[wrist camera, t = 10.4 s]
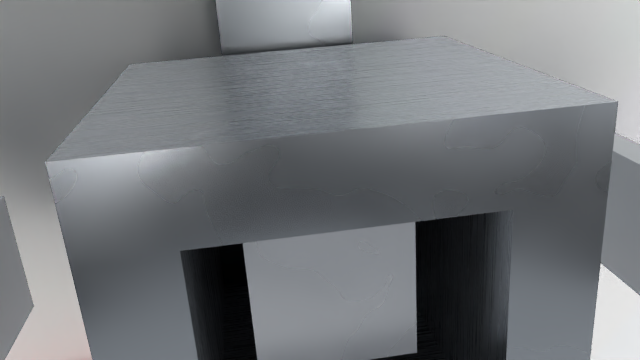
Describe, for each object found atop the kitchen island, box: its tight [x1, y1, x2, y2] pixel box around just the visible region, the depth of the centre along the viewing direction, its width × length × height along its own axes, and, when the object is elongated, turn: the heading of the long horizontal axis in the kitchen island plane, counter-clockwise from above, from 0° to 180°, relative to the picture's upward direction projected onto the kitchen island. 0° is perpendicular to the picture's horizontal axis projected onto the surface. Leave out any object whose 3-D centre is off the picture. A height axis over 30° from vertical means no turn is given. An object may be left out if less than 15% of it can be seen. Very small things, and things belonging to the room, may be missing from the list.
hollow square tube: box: [45, 36, 618, 360], centre depth 12 cm, size 7×7×7 cm
